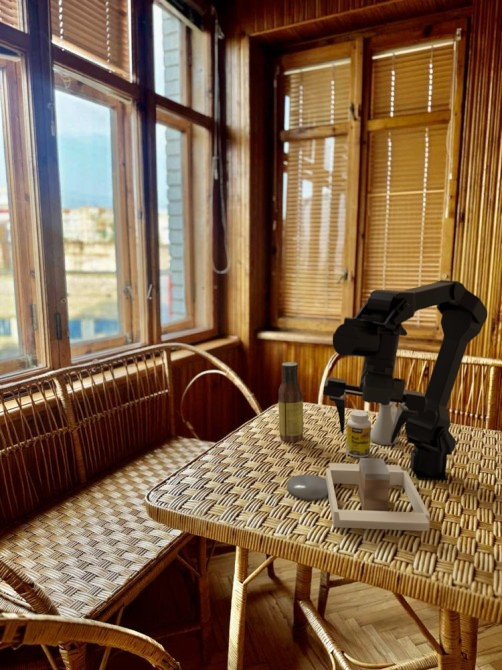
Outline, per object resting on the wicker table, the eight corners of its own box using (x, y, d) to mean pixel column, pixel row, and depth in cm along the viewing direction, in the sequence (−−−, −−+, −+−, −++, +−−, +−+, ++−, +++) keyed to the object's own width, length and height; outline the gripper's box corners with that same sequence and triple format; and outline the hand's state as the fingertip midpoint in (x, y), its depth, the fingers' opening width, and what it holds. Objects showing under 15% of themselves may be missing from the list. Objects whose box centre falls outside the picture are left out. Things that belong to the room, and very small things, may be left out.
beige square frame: (402, 478, 102) (403, 465, 101) (433, 539, 81) (434, 523, 80) (324, 475, 103) (325, 462, 103) (334, 535, 82) (335, 519, 82)
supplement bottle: (347, 458, 111) (349, 417, 109) (344, 448, 117) (345, 408, 115) (371, 458, 111) (373, 417, 109) (367, 448, 117) (369, 409, 115)
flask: (380, 448, 117) (382, 409, 115) (363, 437, 124) (365, 400, 122) (404, 443, 120) (406, 405, 118) (386, 432, 126) (388, 396, 124)
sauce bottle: (307, 436, 124) (308, 362, 120) (296, 445, 119) (297, 368, 115) (285, 431, 127) (286, 359, 124) (273, 439, 122) (274, 364, 118)
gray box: (380, 495, 95) (383, 458, 94) (387, 513, 89) (390, 474, 87) (358, 495, 95) (359, 457, 94) (363, 512, 89) (365, 473, 88)
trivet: (329, 478, 102) (329, 475, 102) (333, 501, 93) (333, 497, 93) (286, 477, 102) (287, 473, 102) (287, 499, 94) (287, 495, 94)
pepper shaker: (395, 433, 126) (397, 399, 124) (380, 431, 127) (381, 397, 125) (396, 427, 130) (398, 394, 128) (380, 426, 131) (382, 393, 129)
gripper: (327, 354, 83) (314, 440, 84) (439, 372, 79) (424, 461, 81) (330, 348, 94) (318, 424, 95) (429, 363, 90) (415, 442, 92)
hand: (366, 437), depth 90 cm, fingers open, 9 cm apart
